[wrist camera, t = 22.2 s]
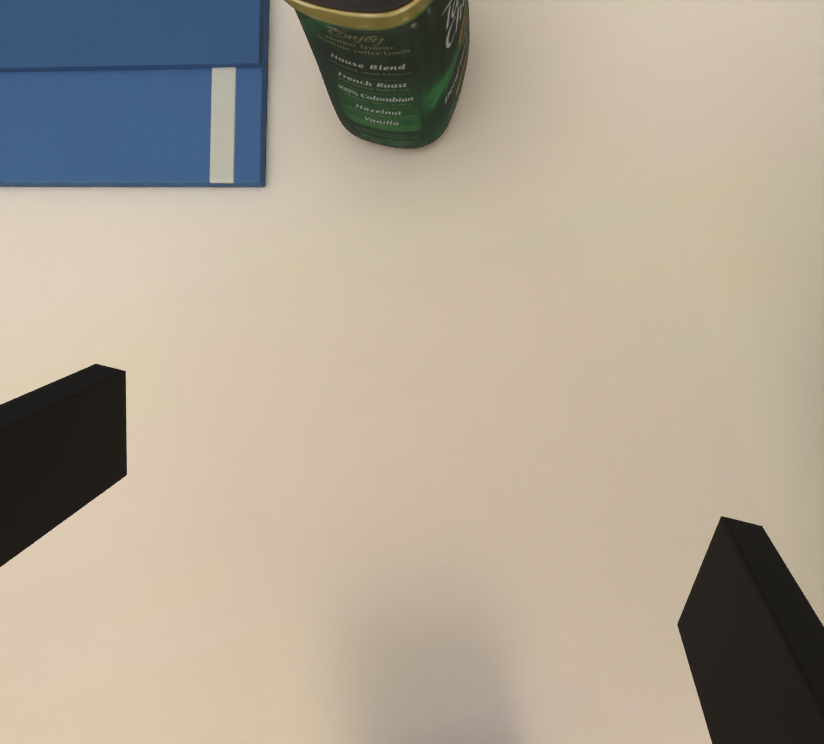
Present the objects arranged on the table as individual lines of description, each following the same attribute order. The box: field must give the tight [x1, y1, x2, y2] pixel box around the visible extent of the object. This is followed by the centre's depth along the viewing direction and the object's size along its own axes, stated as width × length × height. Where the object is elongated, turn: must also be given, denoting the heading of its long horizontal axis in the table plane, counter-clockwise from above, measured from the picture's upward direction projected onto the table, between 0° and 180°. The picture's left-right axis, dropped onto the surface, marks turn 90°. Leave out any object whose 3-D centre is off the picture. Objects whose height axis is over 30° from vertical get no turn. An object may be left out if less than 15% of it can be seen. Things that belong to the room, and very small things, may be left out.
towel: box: [0, 0, 269, 187], centre depth 39 cm, size 26×14×2 cm, turn 88°
